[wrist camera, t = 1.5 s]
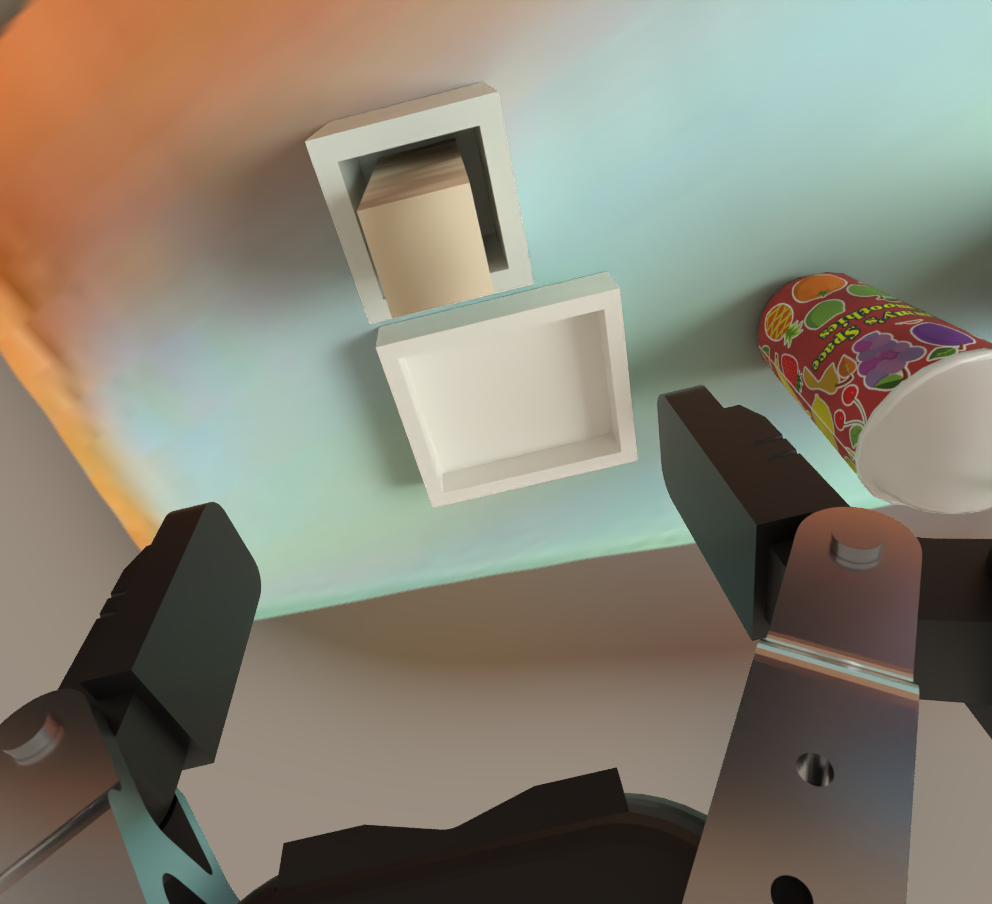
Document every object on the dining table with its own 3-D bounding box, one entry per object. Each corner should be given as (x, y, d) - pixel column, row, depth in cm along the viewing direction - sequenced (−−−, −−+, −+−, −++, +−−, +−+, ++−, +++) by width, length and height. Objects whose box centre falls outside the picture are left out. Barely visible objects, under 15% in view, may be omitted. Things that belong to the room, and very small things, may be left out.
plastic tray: (606, 271, 37) (619, 288, 34) (625, 436, 43) (637, 460, 41) (379, 327, 37) (375, 347, 35) (432, 481, 44) (432, 508, 41)
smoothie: (855, 225, 36) (1207, 392, 20) (876, 337, 41) (1177, 549, 24) (720, 295, 38) (943, 501, 22) (755, 396, 42) (960, 629, 26)
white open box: (483, 81, 31) (498, 91, 24) (514, 241, 35) (533, 284, 29) (328, 121, 31) (304, 141, 25) (379, 275, 35) (369, 324, 29)
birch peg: (455, 138, 31) (469, 182, 21) (473, 218, 33) (494, 293, 23) (378, 157, 31) (356, 211, 21) (402, 236, 33) (392, 318, 23)
